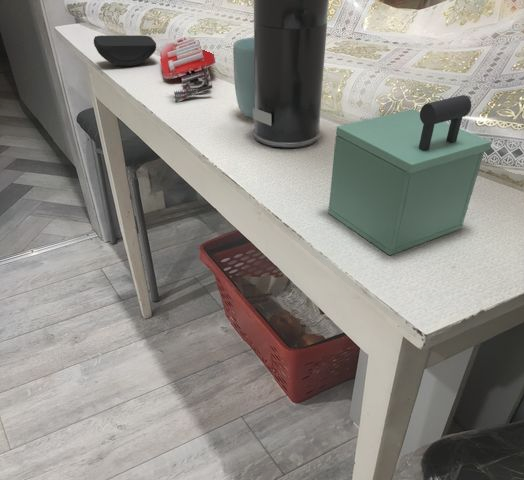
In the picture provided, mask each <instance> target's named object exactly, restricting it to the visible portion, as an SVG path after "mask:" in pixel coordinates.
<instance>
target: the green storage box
mask: <svg viewBox="0 0 524 480" xmlns="http://www.w3.org/2000/svg"><path fill="white" fill-rule="evenodd" d="M484 154H485V151H484V152H480V153H477V154H474V155H470V156H467V157H464V158H460V159H457V160H453V161H450V162H447V163H443V164H440V165H437V166H433V167H430V168H427V169H423V170H420V171H416V172H413V173H408V172H407V171H405V170H403V169H401V168H399V167H397V166H395V165H393V164H391V163H389V162H387V161H386V160H384V159H382V158H380V157H378V156H376V155H374V154H372V153H370V152H368V151H367V150H365V149H363V148H361V147H359V146H357V145H355V144H353V143H351V142H349V141H347V140H346V139H344V138H342V137H340V136H338V135H336V134H335V141H334V150H333V159H332V160H333V161H332V170H331V171H332V172H331V180H330V181H331V182H330V191H329V203H328V214H329V215H330V216H332V217H333V218H334V219H336V220H337V221H339V222H341V224H343V225H345V226H346V227H348V228H349V229H351V230H352V231H354V233H356V234H358V235H359V236H361V237H362V238H363V239H365V240H366V241H367V242H369V243H371V244H372V245H374V246H375V247H377V248H378V249H380V250H381V251H382V252H384V253H385V254H386V255H389V256H392V255H394V254H397V253H400V252H403V251H405V250H407V249H408V250H409V249H411V248H413V247H416V246H418V245H421V244H424V243H427V242H429V241H432V240H435V239H438V238H440V237H443V236H446V235H449V234H451V233H453V232H456V231H459V230H461V229H462V228H463V225H464V222H465V218H466V214H467V211H468V208H469V204H470V202H471V198H472V194H473V191H474V187H475V184H476V181H477V178H478V175H479V172H480V168H481V164H482V161H483V157H484Z"/></svg>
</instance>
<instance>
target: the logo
mask: <svg viewBox="0 0 524 480" xmlns="http://www.w3.org/2000/svg"><path fill="white" fill-rule="evenodd" d="M188 37H189V39H187V37H181V38H179V39H176V40H175V41H173V42H168V43H163V44H162V45H161V46H160V47H159V48H160V49H159V50H160V51H159V52H160V53H159V54H160V55H159V56H160V59H159V60H160V67H161V71H162V75H163V79H166V80H170V79H171V80H172V79H176V78H181V84H182V85H183V86H182V89H181V90H180V91H179V90H176V91H175V90H174V91H173V92H174V100H175V101H176V102H178V103H180V102H182V101H184V100H187V99H189V98H191V97H193V96H194V95H197V94H200V93H202V92H206V91H209V90H212V89H213V88H214V85H213V83H212V82H210V81H212V78H211V75H210V71H209V68H210V67H213V65H216V56H215V53H214V54H212V53H210V52H207V51H205V50H202V49H201V46H200V42H199V40H195V41H194V39H195V38H191V39H190V35H189V36H188ZM214 56H215V57H214ZM201 68H202V69H204V70H203V71H200V72H197V73H194V74H191V73H192V72H191V71H193V70H194V71H195V72H196V71H199V70H202V69H201ZM188 72H189V74H188V75H187V73H188ZM199 75H200V76H199ZM196 76H197V77H196ZM193 77H194V78H193ZM205 77H206V78H205ZM201 78H202V79H201ZM197 81H203V82H202V83H199V84H197V83H196V82H197ZM208 81H209V82H210V85H209V84H208V86H206V87H203V88H202V87H201V86H202V85H203V84H204V83H205V84H207V83H209V82H208ZM194 83H195V84H194ZM192 84H193V85H192Z"/></svg>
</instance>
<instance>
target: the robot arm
mask: <svg viewBox="0 0 524 480" xmlns="http://www.w3.org/2000/svg"><path fill="white" fill-rule="evenodd" d="M329 2H330V0H253V37H254V97H255V106H254V108H253V119H252V120H254V129H253V137H254V139H255V140H256V141H257V142H259V143H261V144H264V145H266V146H270V147H274V148H275V147H276V148H285V149H286V148H289V149H291V148H300V147H306V146H309V145H312V144H314V143H315V142H317V141H318V140H319V139H320V132H321V131H320V122H321V121H320V120H321V109H322V95H323V84H324V82H323V81H324V69H325V58H326V57H325V56H326V46H327V45H326V42H327V30H328V14H329V13H328V12H329Z"/></svg>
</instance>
